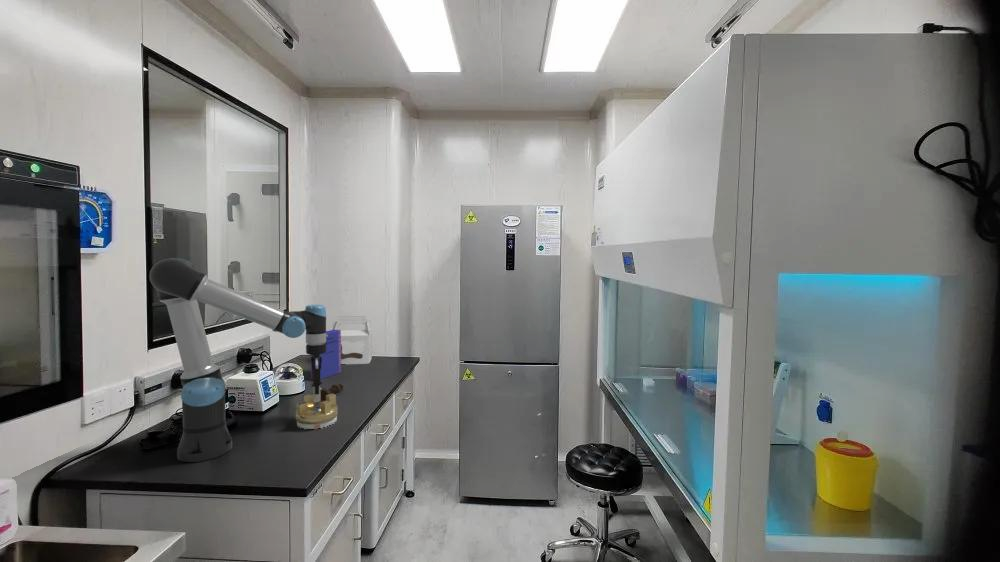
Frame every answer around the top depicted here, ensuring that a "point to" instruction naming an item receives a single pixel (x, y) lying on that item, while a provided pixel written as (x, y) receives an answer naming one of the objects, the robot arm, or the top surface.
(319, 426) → the mounting flange
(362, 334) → the gable box
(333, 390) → the bolt
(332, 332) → the cereal box
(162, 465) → the top surface
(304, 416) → the ring nut
